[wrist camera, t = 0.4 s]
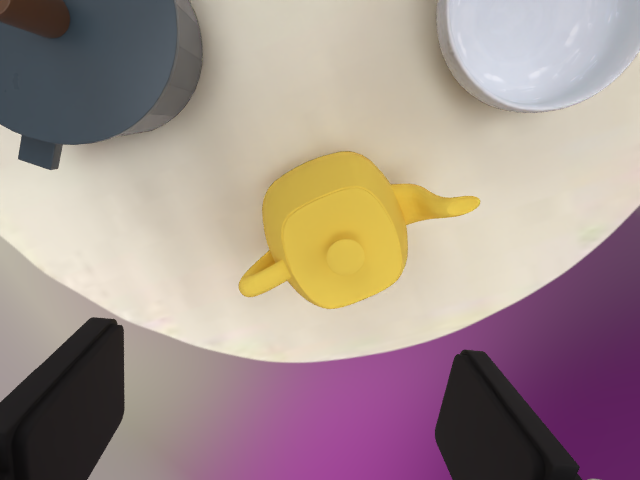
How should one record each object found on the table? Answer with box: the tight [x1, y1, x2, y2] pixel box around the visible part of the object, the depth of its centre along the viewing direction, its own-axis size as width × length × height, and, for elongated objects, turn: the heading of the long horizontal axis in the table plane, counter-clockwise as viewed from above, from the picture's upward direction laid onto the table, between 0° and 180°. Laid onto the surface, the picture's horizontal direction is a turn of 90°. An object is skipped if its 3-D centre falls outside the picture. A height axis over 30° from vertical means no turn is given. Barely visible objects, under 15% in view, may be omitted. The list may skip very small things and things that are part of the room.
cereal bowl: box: [436, 0, 640, 113], centre depth 32 cm, size 17×17×7 cm
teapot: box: [239, 151, 480, 309], centre depth 34 cm, size 13×20×12 cm
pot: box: [18, 0, 203, 170], centre depth 30 cm, size 16×21×9 cm
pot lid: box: [0, 0, 180, 145], centre depth 23 cm, size 17×17×7 cm
